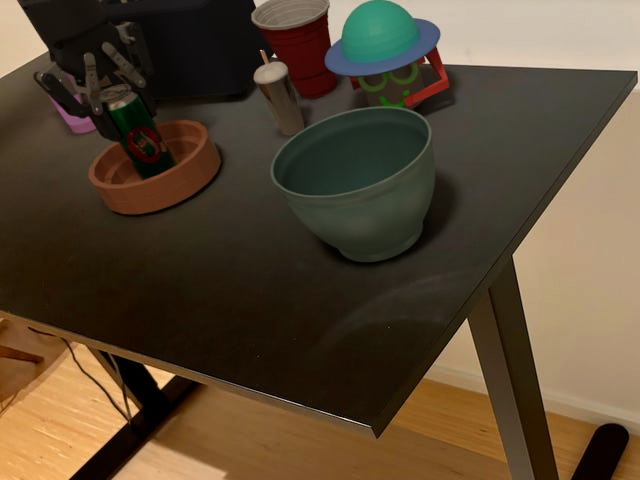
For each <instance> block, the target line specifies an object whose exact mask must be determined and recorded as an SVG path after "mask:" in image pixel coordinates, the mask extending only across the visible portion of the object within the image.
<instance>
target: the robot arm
mask: <svg viewBox="0 0 640 480" xmlns="http://www.w3.org/2000/svg"><path fill="white" fill-rule="evenodd" d="M16 1H17V3H18V5H19V6H20V8H21V10H22V11H23V13H24V14H25V16H26V18H27V19H28V20H29V22H30V24H31V25H32V27H33V29H34V30H35V32H36V33H37V35H38V36H39V38H40V41H42V43H43V44H44V45H45V47H46V48H47V50H48V53H49V60H50V63H49V64H48V65H47V66H46V67H45V68H44V69H42V70H41V71H42V72H41V71H35V72H34V73H33V75H32V77H33V80H34V81H35V82H36V84H38V85H39V87H40V88H42V89H43V91H44V92H45V93H46V92H47V93H48V94H49V95H50V96H51V97H52V98H53V100H54V101H55V102H56V103H57V104H58V105H59V106H60V107H61V108H62V109H63V110H64V111H65V112H66V113H67V114H68V115H70V116H76V117H79V118H80V119H84V118H86V117H88V116H89V118H90V119H91V121H92V122H93V124H94V125H95V127H96V130H97V131H98V134H99V135H100V136H101V137H102V139H105V140H108V141H111V142H113V143H115V142H118V141H120V140H121V139H122V137H121V135H120V133H119V132H118V130H117V129H116V127H115V125H114V124H113V122H112V120H111V119H110V117H109V115H108V114H107V112H104V111H103V108H102V104H101V99H100V93H101V92H102V88H100V85H99V81H100V80H102V79H103V78H104V77H105V76H106V75H107V74H110V73H114V74H116V75H117V76H118V77H120V78H121V79H122V80H123V81H124V82H125V83H126V84H128V85H130V86H131V87H132V89H133V90H135V91H136V92H138V93H139V95H140V97H141V99H142V101H143V102H144V104H145V106H146V108H147V110H148V111H149V113H150V115H151V117H152V119H154V118H155V117H156V116H158V112H157V110H158V105H157V103H156V100H154V99H153V98H152V96H151V94H150V92H149V90H148V89H147V87H146V80H147V79H148V77H149V76H151V75H153V74H154V67H153V64H152V61H151V58H150V55H149V51H148V48H147V45H146V42H145V39H144V35H143V32H142V29H141V26H140V25H139V24H138V23H131V22H122V23H121V24H120V25H119V26H114V25H113V24H112V23H111V22H110V21H109V20H108V19H107V16H106V12H105V11H104V9H103V7H102V5H101V3H100V1H99V0H16ZM120 39H121V40H122V42H123V43H125V44H126V47H127V50H128V53H129V56H130V59H131V62H132V65H133V66H132V65H131V64H130V63H129V62H128V61H127V60H126V59H125V58H124V57H123V56H122V55H121V54H120ZM62 72H64V73H65V72H66V73H68V74H70V75H71V76H72V80H73V84H74V85H73V84H72V85H73V88H74V91H75V92H76V94H78V95H79V100H80V102H79V101H78V100H77V99H76V98H75V97H74V94H72V93H71V92H70V91H69V90H68V89H67V87H65V86H64V84H65V80H64V78H63V75H62ZM66 73H65V74H66ZM85 81H86V82H85ZM86 83H87V84H86ZM47 93H46V94H47ZM48 94H47V95H48Z"/></svg>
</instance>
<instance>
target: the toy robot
mask: <svg viewBox="0 0 640 480" xmlns="http://www.w3.org/2000/svg"><path fill="white" fill-rule="evenodd" d="M440 40H441V29H440V28H439V27H438V26H437V25H436V24H435V23H434V22H432V21H431V20H427V19H423V18H416V17H413V15H411V14H410V13H409V11H408V10H407V9H405V8H404V7H403V6H401V5H400V4H398V3H396V2H393V1H391V0H368V1H365V2H363V3H361V4H359V5H358V6H356V7H355V8H354V9H353V10H352V11H351V12H350V13H349V14H348V17H347V18H346V19H345V21H344V24H343V27H342V32H341V37H340V38H339V39H337V41H335V42H334V43H333V44H331V47H330V49H329V50H328V52H327V54H326V56H325V65H326V67H327V68H328V69H329V70H331V71H332V72H334V73H335V74H336V75H339V76H344V77H348V78H349V82H350V84H351V87H352V89H353V91H355V90H358V89H361V88H362V89H363V90H364V94H365V97H366V99H367V103H368V107H377V106H378V107H380V106H388V107H400V108H404V109H409V110H411V111H414V108H416V107H418V106H419V105H420V104H421V103H423V101H424V100H425V99H427V98H429V97H431V96H433V95H435V94H438V93H439V92H440V93H441V92H443V91H444V90H446V89H448V88H451V87H450V83H449V78H448V76H447V73H446V70H445V67H444V64H443V61H442V58H441V56H440V53H439V50H438V46H437V45H438V43H439V41H440ZM426 60H427V61H426ZM426 62H428V63H429V65H430V66H431V68H432V70H433V71H434V73H435V75H436V76H437V77H438V79H439V80H437V81H436V82H434V83H432V84H430V85H428V86H427V87H425V86H424V82H423V78H422V73H421V70H420V66H421V65H422V64H423V65H424V64H425V63H426Z"/></svg>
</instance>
